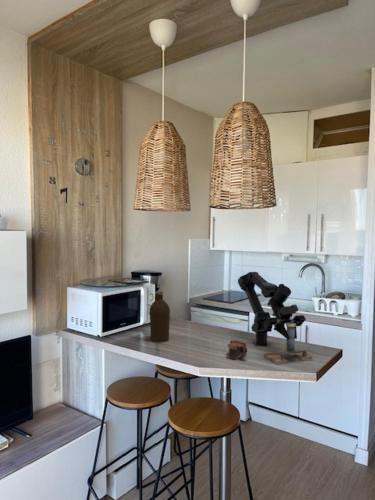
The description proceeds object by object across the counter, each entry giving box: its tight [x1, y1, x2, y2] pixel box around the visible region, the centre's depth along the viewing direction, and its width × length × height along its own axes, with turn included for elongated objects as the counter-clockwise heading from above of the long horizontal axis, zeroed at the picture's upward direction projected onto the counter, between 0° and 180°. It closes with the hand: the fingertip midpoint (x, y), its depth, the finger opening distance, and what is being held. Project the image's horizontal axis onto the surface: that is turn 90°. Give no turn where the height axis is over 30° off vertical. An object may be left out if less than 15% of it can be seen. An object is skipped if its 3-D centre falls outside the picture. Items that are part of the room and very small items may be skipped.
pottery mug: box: [226, 340, 248, 361], centre depth 164 cm, size 12×10×8 cm
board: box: [263, 349, 313, 365], centre depth 162 cm, size 10×18×4 cm, turn 109°
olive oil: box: [148, 291, 171, 343], centre depth 191 cm, size 11×11×25 cm
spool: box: [285, 322, 297, 352], centre depth 160 cm, size 4×4×13 cm
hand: (292, 338), depth 158 cm, fingers closed on spool, 3 cm apart
